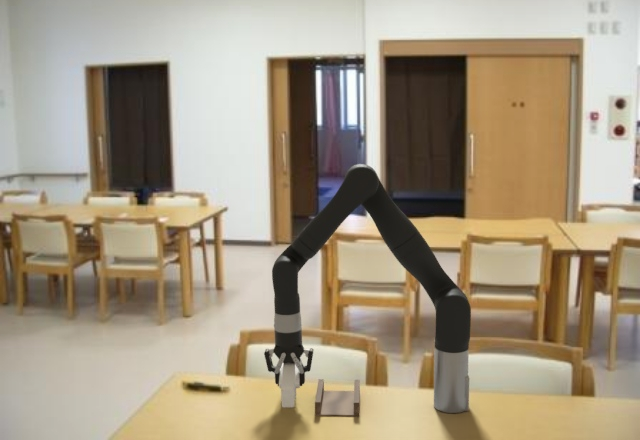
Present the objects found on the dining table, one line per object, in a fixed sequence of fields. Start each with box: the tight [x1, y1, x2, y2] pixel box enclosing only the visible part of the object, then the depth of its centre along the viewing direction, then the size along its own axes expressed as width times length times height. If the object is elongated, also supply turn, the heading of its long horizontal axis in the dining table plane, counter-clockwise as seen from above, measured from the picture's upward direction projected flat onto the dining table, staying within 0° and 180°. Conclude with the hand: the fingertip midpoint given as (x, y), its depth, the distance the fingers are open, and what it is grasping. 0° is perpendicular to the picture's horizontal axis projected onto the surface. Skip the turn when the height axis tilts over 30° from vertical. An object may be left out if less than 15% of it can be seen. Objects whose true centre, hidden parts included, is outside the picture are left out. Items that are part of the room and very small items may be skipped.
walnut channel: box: [314, 378, 361, 417], centre depth 203 cm, size 12×16×4 cm
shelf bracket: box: [278, 363, 301, 408], centre depth 204 cm, size 6×25×13 cm, turn 179°
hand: (290, 384), depth 202 cm, fingers closed on shelf bracket, 5 cm apart
